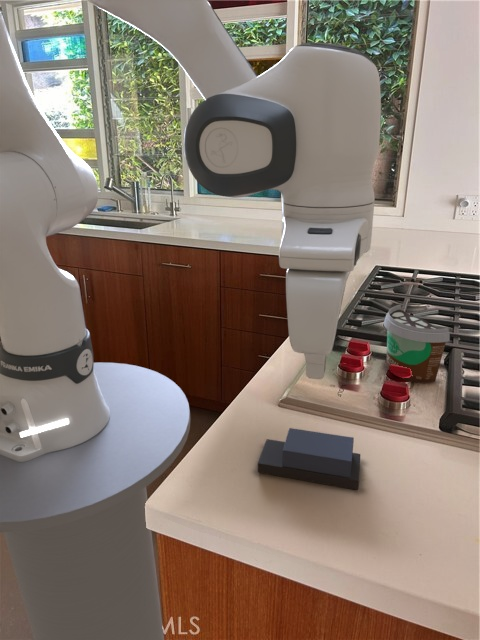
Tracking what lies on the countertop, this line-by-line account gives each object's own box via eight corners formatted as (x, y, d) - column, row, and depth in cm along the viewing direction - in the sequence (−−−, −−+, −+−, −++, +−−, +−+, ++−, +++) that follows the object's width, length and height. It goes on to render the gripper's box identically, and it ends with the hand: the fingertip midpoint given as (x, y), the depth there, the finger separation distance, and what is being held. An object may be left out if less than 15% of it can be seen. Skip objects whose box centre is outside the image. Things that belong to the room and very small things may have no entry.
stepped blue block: (257, 472, 57) (257, 447, 55) (266, 447, 61) (266, 423, 60) (358, 490, 54) (360, 464, 52) (359, 462, 58) (362, 437, 57)
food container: (364, 360, 84) (369, 308, 80) (392, 354, 86) (399, 303, 82) (411, 393, 73) (419, 335, 69) (441, 385, 75) (451, 329, 71)
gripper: (308, 212, 56) (305, 318, 61) (274, 254, 38) (274, 399, 43) (362, 213, 54) (354, 322, 60) (353, 257, 36) (343, 407, 42)
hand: (320, 355), depth 51 cm, fingers open, 8 cm apart
